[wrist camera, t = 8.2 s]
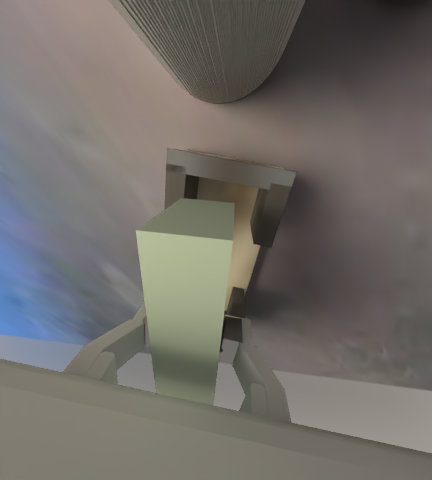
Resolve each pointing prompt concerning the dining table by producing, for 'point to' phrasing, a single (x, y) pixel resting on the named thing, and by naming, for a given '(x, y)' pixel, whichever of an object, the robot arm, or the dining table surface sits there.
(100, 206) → the dining table surface
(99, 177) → the dining table surface
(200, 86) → the cup
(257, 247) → the grey and cream cradle
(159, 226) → the slat
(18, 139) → the dining table surface
